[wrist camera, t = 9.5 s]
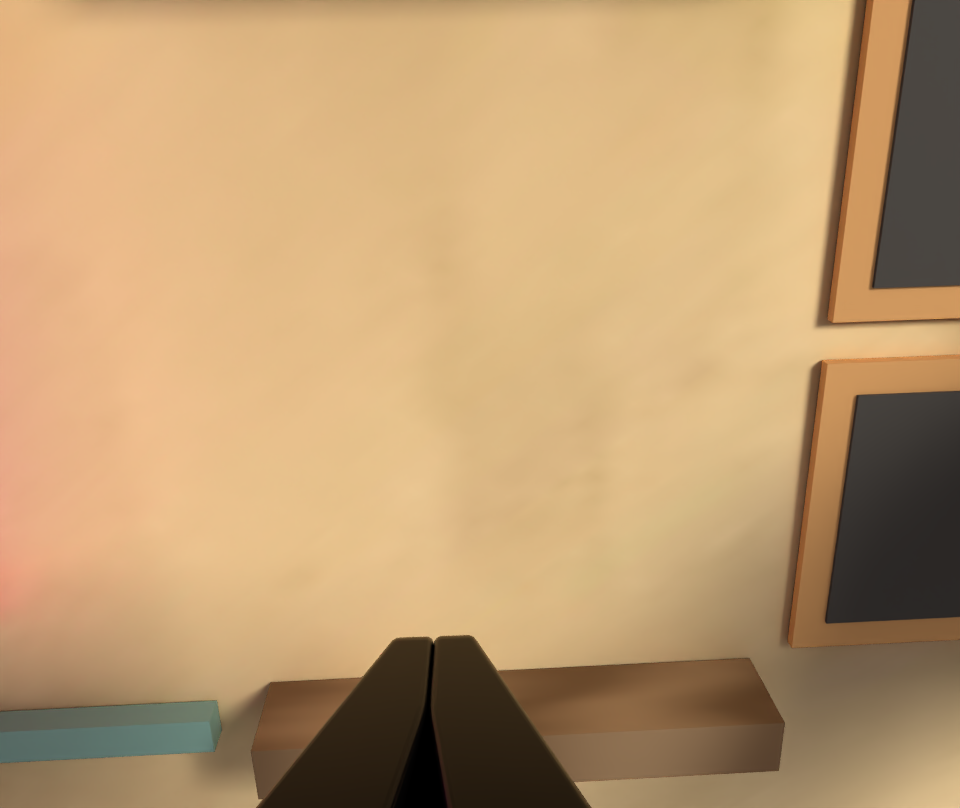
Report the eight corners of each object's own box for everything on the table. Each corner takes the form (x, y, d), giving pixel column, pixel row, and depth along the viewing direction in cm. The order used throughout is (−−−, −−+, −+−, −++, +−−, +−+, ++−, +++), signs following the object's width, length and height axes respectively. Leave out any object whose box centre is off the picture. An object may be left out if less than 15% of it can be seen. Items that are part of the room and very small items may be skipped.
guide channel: (838, -187, 16) (907, -235, 14) (744, 702, 23) (778, 770, 21) (151, -176, 16) (99, -222, 13) (276, 726, 23) (258, 799, 21)
